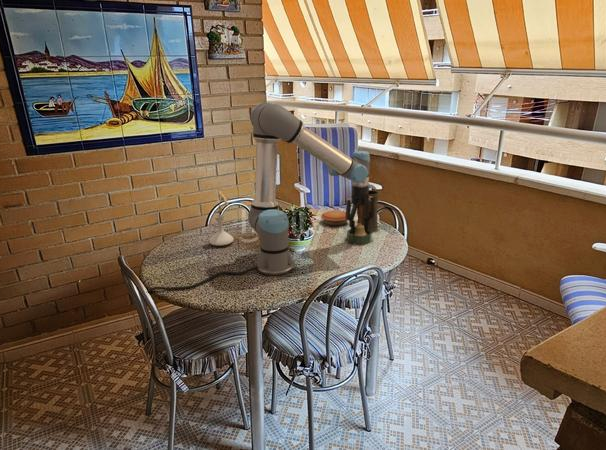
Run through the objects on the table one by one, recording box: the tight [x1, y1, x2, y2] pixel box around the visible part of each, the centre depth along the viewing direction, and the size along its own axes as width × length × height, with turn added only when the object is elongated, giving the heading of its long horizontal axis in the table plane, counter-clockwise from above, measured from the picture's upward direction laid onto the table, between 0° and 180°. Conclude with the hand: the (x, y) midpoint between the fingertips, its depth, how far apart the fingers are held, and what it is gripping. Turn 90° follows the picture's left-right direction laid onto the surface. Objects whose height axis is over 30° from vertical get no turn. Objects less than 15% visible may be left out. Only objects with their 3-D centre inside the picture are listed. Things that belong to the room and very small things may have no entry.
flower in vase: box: [209, 190, 235, 247], centre depth 191 cm, size 13×11×25 cm
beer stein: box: [356, 189, 379, 233], centre depth 209 cm, size 15×11×20 cm
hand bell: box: [351, 205, 367, 236], centre depth 193 cm, size 8×8×16 cm
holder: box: [346, 228, 373, 245], centre depth 195 cm, size 12×12×4 cm
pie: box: [320, 210, 348, 226], centre depth 219 cm, size 16×16×5 cm
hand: (359, 232), depth 195 cm, fingers closed on hand bell, 6 cm apart
